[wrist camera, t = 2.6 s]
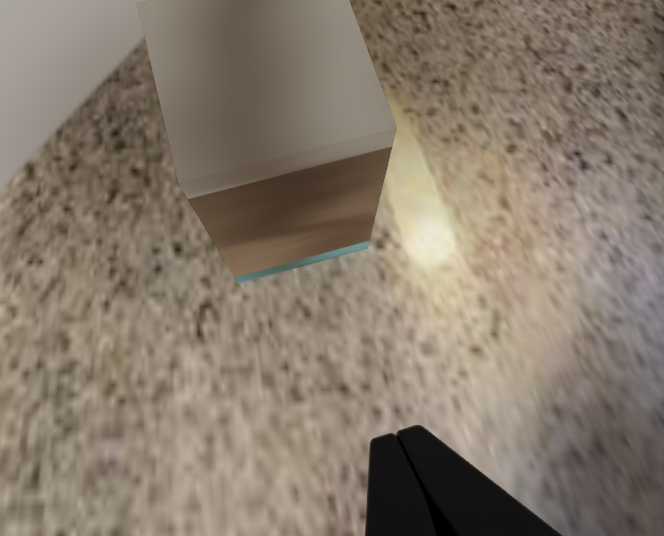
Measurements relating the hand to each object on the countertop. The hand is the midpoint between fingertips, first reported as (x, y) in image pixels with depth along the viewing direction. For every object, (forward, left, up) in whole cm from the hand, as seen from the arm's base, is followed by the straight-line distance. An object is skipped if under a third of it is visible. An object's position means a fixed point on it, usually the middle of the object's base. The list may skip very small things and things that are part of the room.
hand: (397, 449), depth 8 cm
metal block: (0, -11, -14) cm, 17 cm away
